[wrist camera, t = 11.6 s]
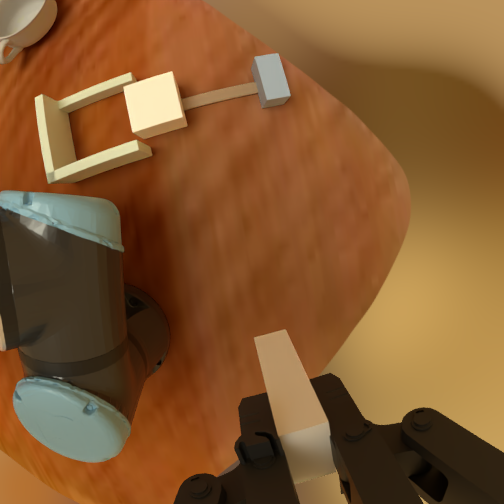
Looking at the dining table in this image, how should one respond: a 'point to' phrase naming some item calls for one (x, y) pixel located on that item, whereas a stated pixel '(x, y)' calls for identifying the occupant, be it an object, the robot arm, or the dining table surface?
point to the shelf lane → (61, 143)
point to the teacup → (24, 24)
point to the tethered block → (198, 97)
